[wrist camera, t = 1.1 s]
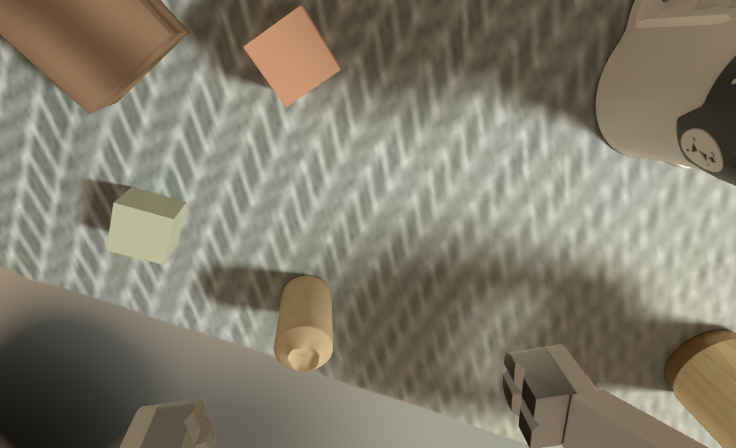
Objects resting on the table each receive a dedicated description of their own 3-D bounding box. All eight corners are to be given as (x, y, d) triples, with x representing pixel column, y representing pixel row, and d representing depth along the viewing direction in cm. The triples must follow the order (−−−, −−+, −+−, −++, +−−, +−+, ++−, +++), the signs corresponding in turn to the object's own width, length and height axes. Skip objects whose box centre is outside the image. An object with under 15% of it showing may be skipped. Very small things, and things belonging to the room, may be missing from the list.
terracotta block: (304, 7, 34) (300, 5, 29) (338, 62, 36) (340, 70, 31) (255, 42, 35) (243, 46, 29) (291, 94, 37) (285, 107, 31)
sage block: (187, 201, 40) (173, 219, 37) (177, 244, 42) (164, 264, 39) (132, 186, 39) (113, 202, 36) (125, 230, 41) (106, 250, 37)
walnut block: (94, -74, 30) (55, -91, 26) (190, 32, 34) (169, 33, 30) (20, 9, 32) (-29, 8, 28) (118, 102, 36) (88, 113, 31)
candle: (273, 286, 45) (260, 351, 36) (318, 267, 45) (317, 328, 36) (296, 321, 48) (289, 390, 39) (339, 304, 47) (343, 370, 38)
